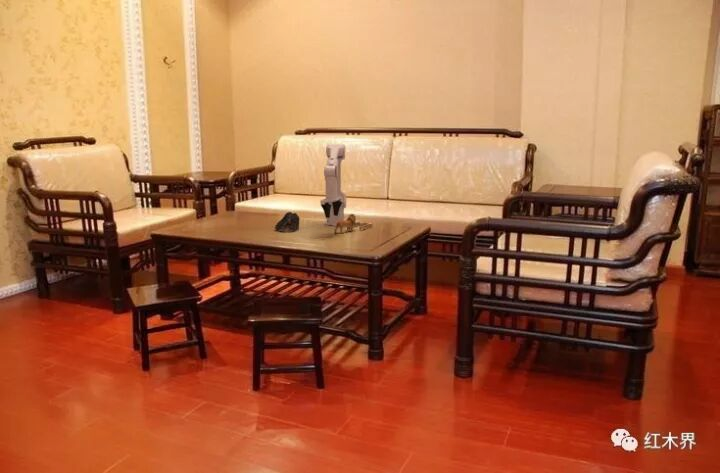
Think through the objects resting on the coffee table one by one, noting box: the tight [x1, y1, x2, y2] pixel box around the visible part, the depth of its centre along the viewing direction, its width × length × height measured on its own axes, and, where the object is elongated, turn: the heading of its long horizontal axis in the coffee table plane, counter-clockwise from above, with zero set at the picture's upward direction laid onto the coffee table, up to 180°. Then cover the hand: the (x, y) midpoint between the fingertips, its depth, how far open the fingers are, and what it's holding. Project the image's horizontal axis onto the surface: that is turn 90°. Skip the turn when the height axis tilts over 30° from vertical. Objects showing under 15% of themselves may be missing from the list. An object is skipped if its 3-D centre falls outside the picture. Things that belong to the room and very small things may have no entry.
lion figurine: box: [334, 213, 357, 235], centre depth 301 cm, size 15×5×9 cm, turn 137°
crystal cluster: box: [274, 211, 300, 233], centre depth 307 cm, size 13×14×10 cm
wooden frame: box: [349, 221, 373, 232], centre depth 311 cm, size 9×10×2 cm
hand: (331, 216), depth 292 cm, fingers open, 6 cm apart
